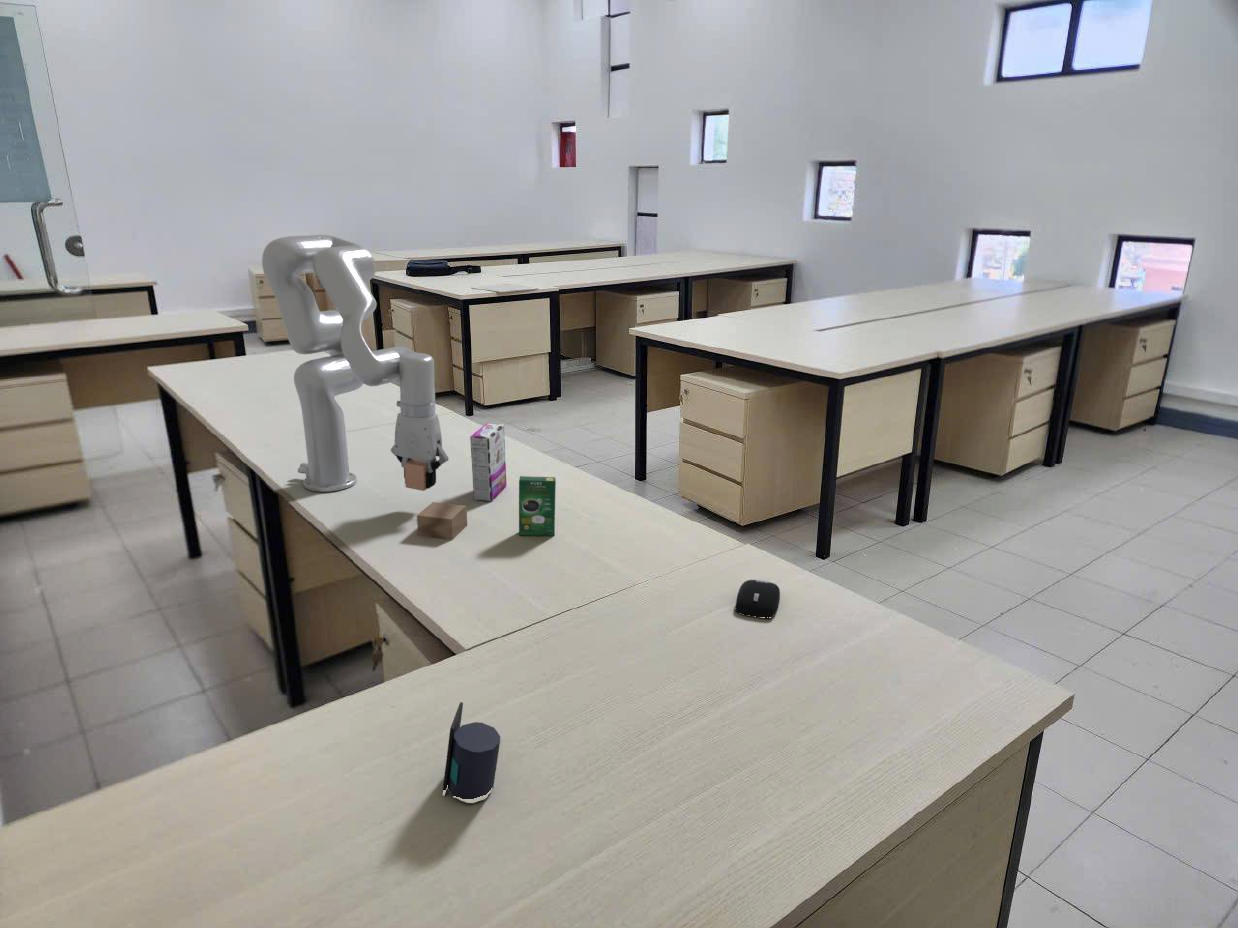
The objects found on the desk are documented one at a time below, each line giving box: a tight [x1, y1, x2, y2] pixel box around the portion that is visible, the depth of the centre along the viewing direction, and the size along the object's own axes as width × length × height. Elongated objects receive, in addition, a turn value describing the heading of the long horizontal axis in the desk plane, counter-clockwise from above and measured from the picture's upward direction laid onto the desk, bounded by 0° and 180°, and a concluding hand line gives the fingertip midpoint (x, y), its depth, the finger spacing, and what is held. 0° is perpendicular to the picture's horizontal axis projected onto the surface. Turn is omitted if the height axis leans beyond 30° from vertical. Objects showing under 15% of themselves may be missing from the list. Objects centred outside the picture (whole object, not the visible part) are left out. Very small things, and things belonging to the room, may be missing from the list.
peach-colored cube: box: [404, 459, 428, 492], centre depth 189 cm, size 5×5×6 cm
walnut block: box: [416, 501, 468, 541], centre depth 179 cm, size 8×8×5 cm
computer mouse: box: [735, 579, 781, 618], centre depth 151 cm, size 8×12×4 cm, turn 161°
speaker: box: [442, 702, 501, 799], centre depth 103 cm, size 8×6×10 cm
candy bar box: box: [470, 422, 507, 502], centre depth 199 cm, size 11×5×16 cm, turn 168°
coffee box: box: [518, 475, 557, 537], centre depth 177 cm, size 8×3×13 cm, turn 92°
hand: (420, 483), depth 189 cm, fingers closed on peach-colored cube, 4 cm apart
